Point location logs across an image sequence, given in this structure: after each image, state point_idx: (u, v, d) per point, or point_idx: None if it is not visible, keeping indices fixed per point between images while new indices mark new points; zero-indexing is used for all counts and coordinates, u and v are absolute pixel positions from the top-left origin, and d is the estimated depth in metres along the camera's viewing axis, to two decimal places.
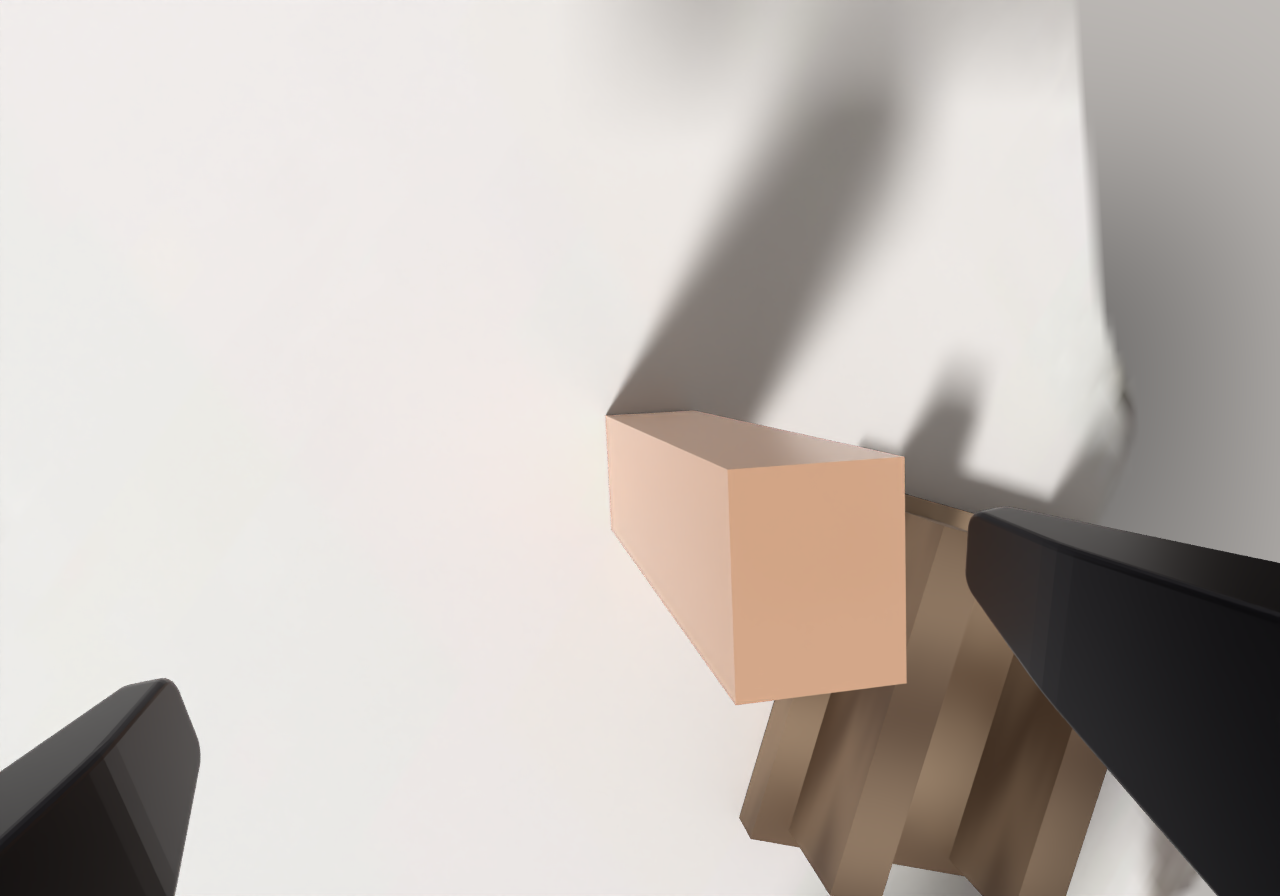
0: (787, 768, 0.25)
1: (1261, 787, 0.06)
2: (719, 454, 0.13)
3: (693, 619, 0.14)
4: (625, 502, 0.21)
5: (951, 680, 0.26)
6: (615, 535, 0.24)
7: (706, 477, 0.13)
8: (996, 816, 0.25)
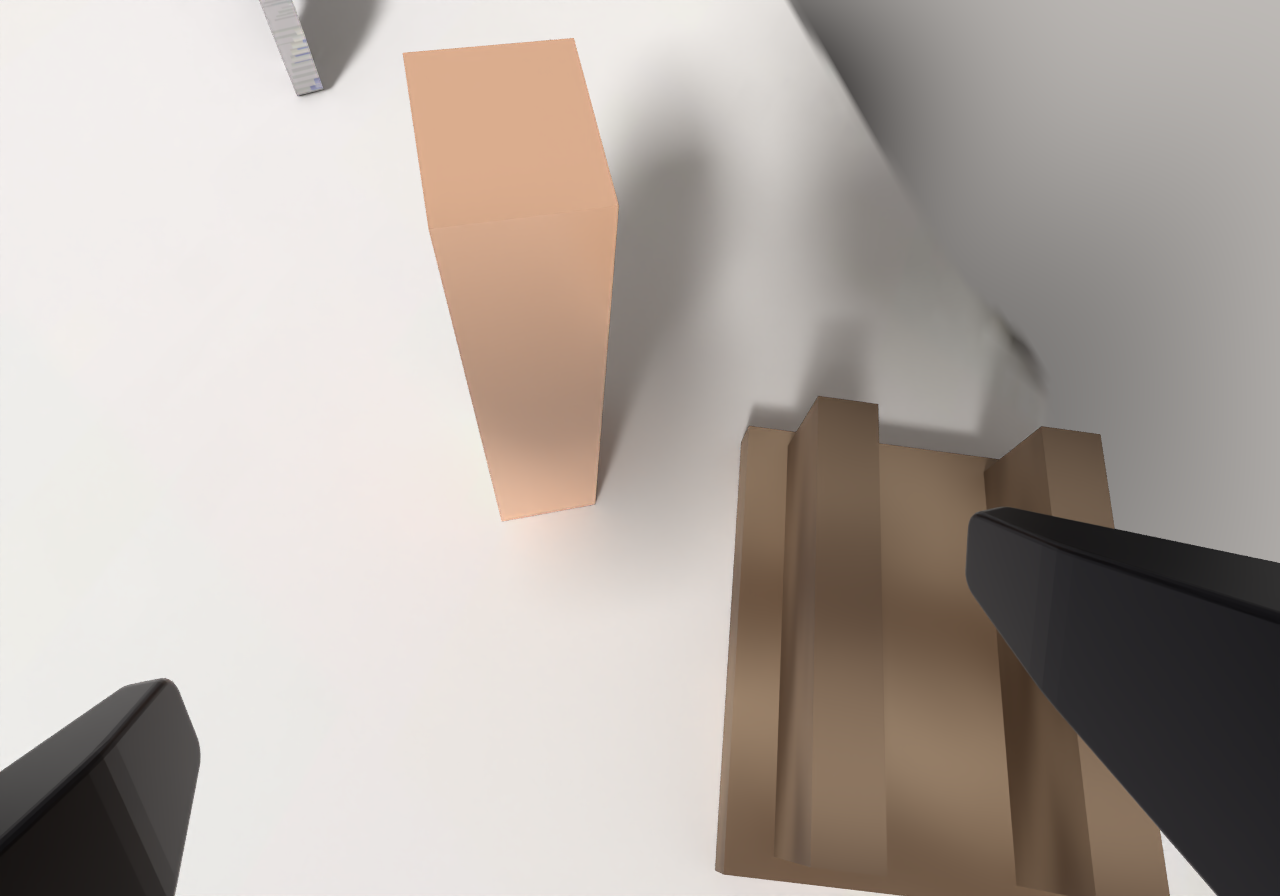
0: (750, 764, 0.20)
1: (1261, 787, 0.06)
2: None
3: None
4: None
5: (927, 629, 0.22)
6: (499, 511, 0.22)
7: None
8: (1038, 777, 0.19)
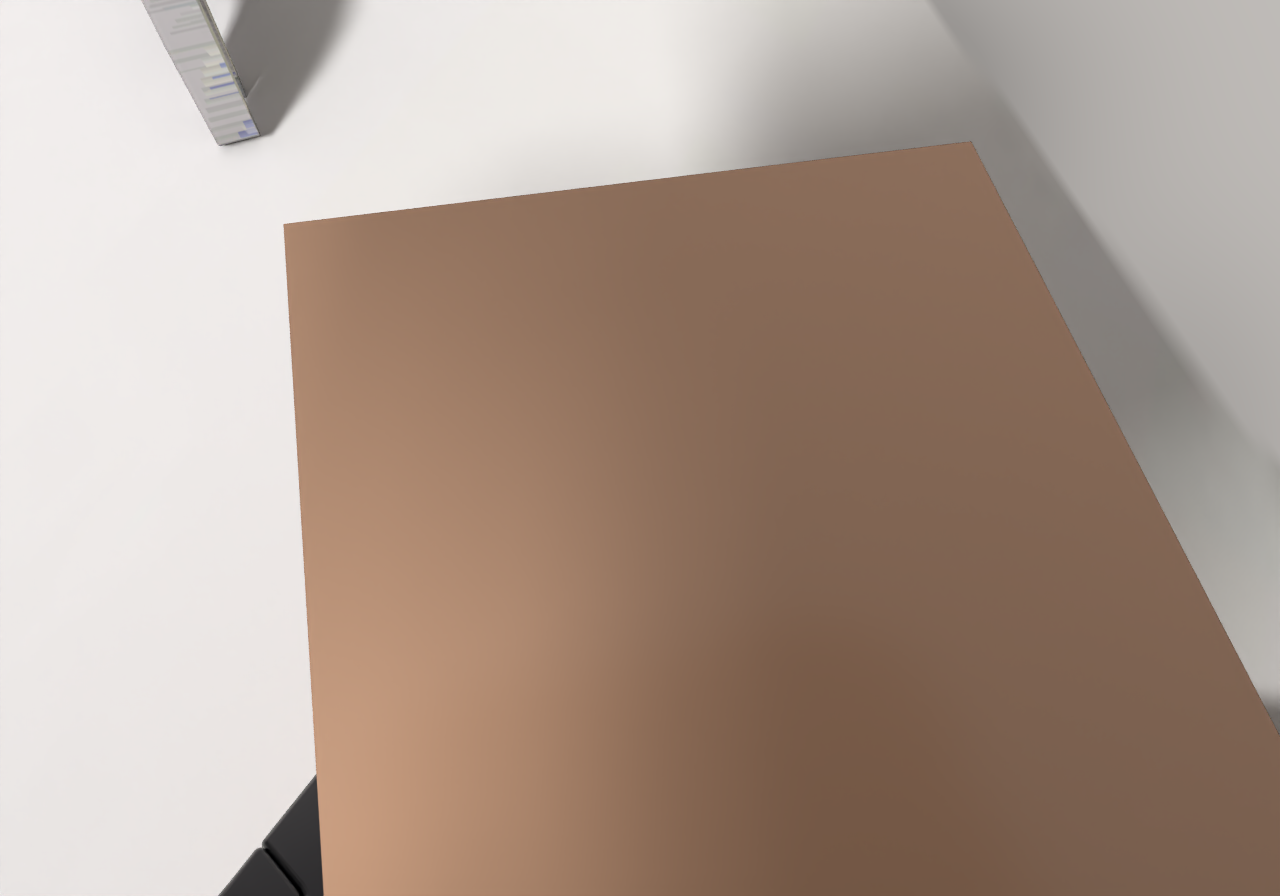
0: None
1: None
2: None
3: None
4: None
5: None
6: None
7: None
8: None
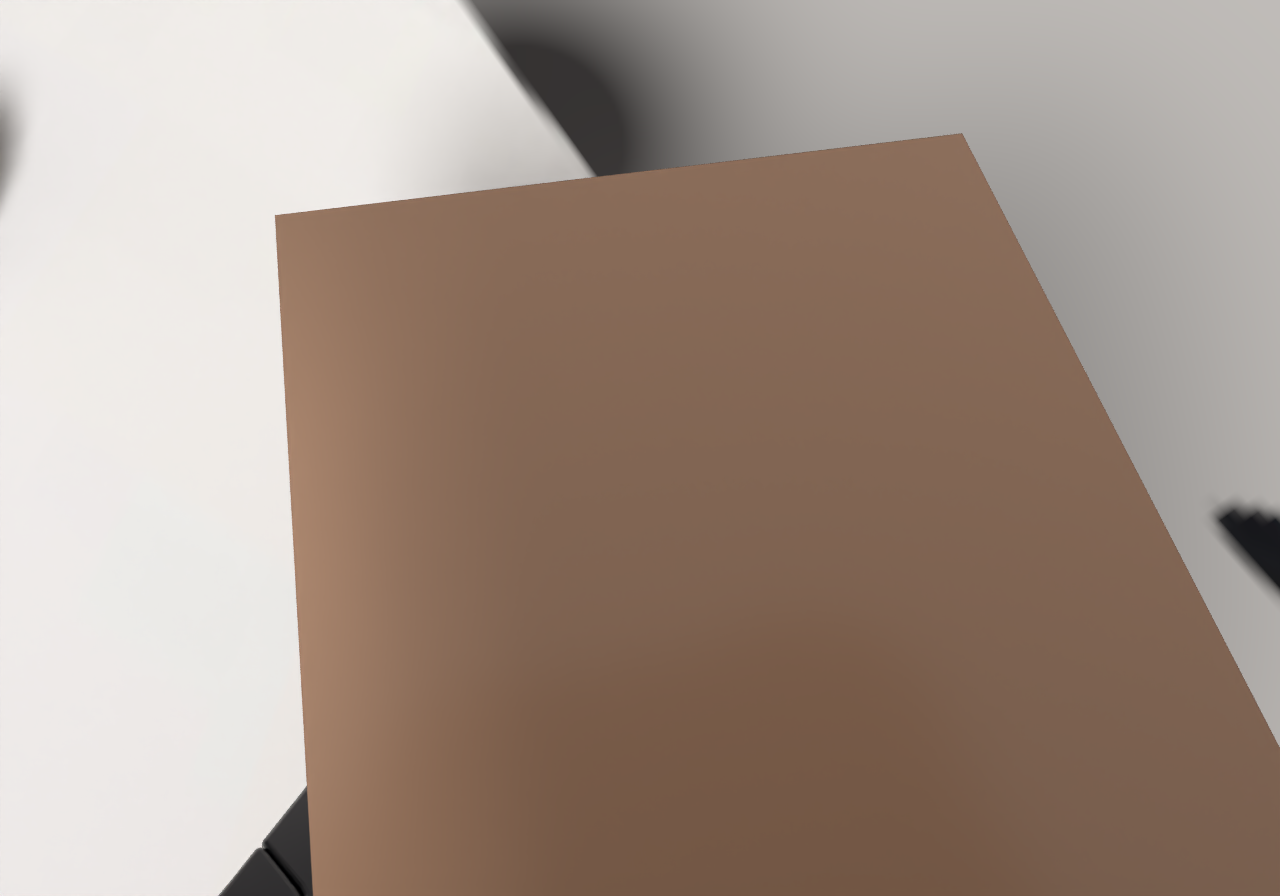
0: None
1: None
2: None
3: None
4: None
5: None
6: None
7: None
8: None
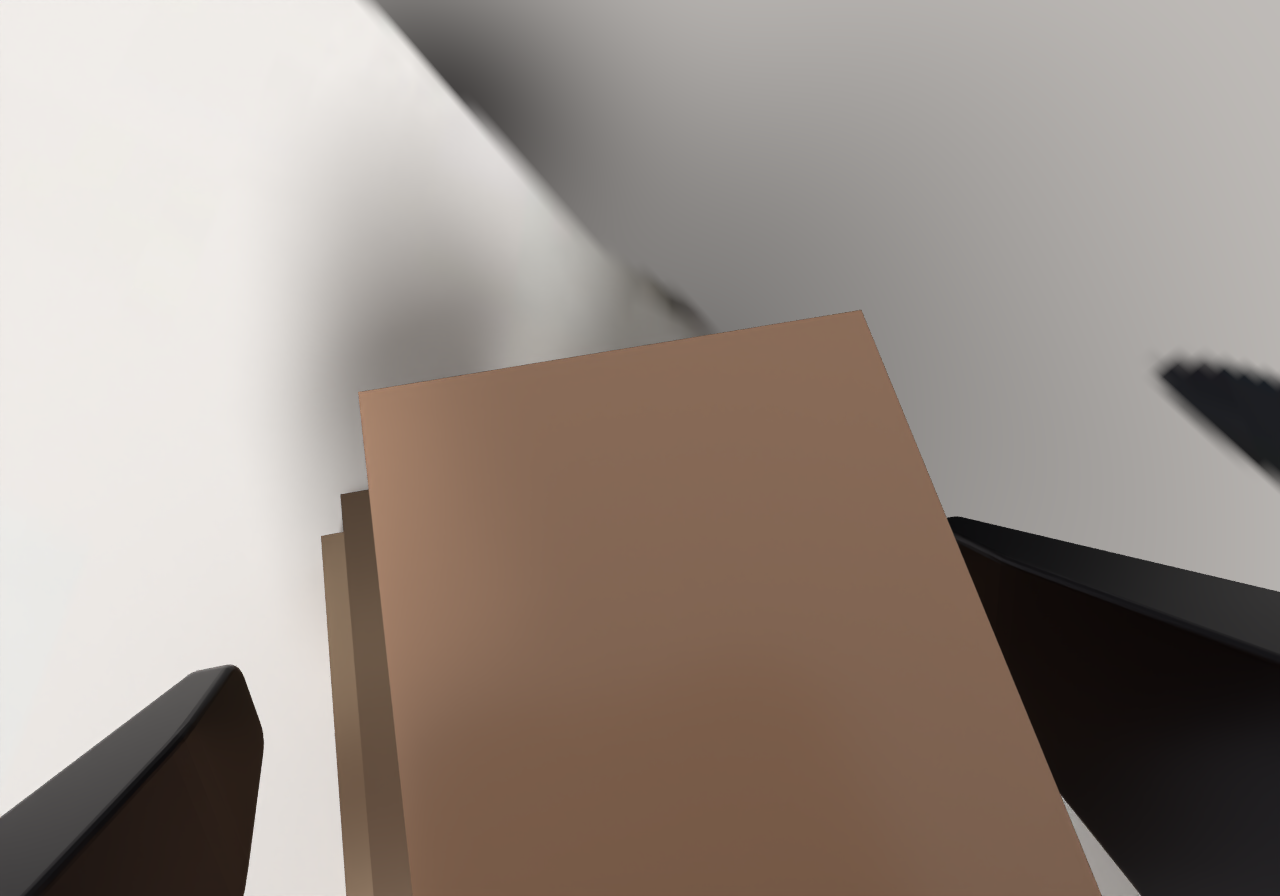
0: None
1: (1195, 806, 0.06)
2: None
3: None
4: None
5: None
6: None
7: None
8: None
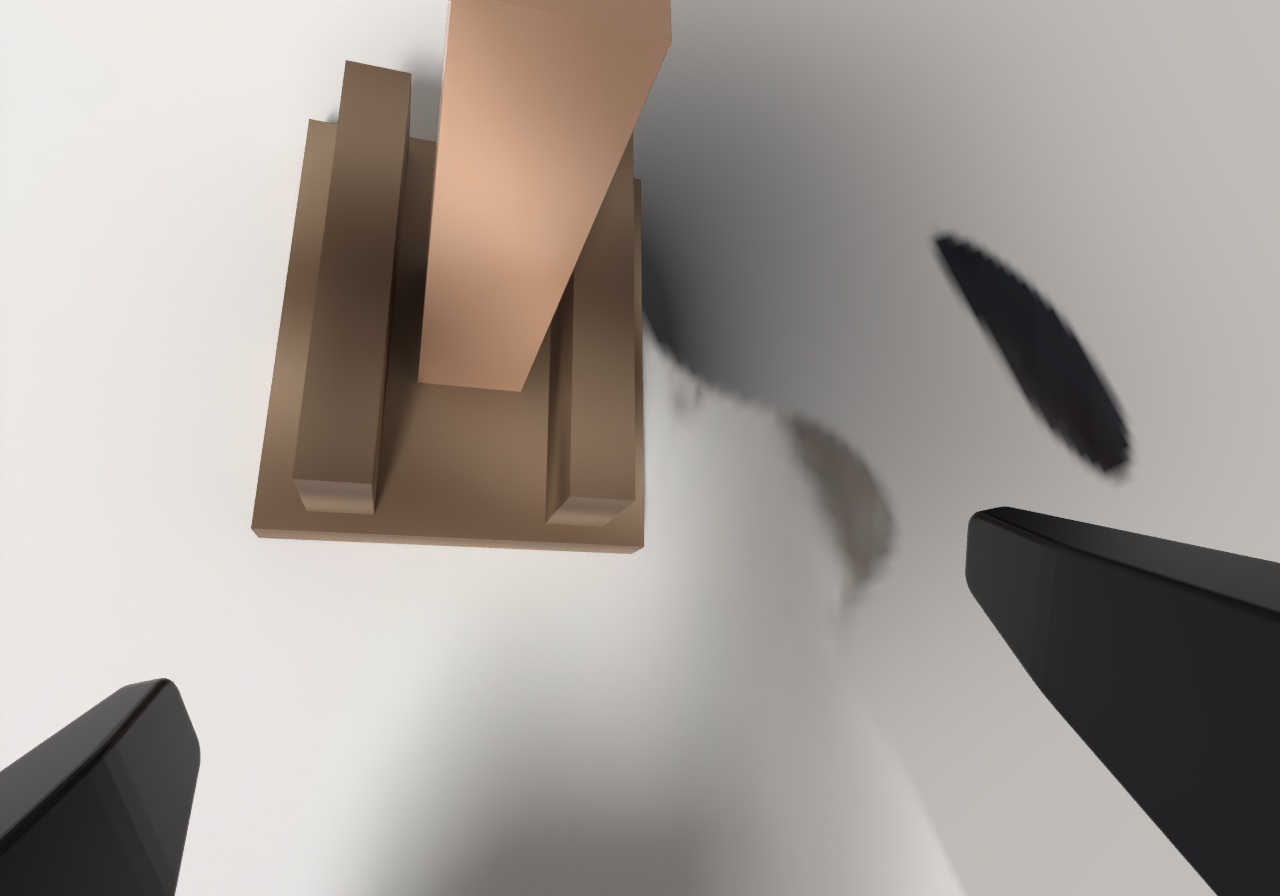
0: (287, 432, 0.20)
1: (1261, 787, 0.06)
2: None
3: None
4: None
5: None
6: None
7: None
8: (557, 422, 0.21)
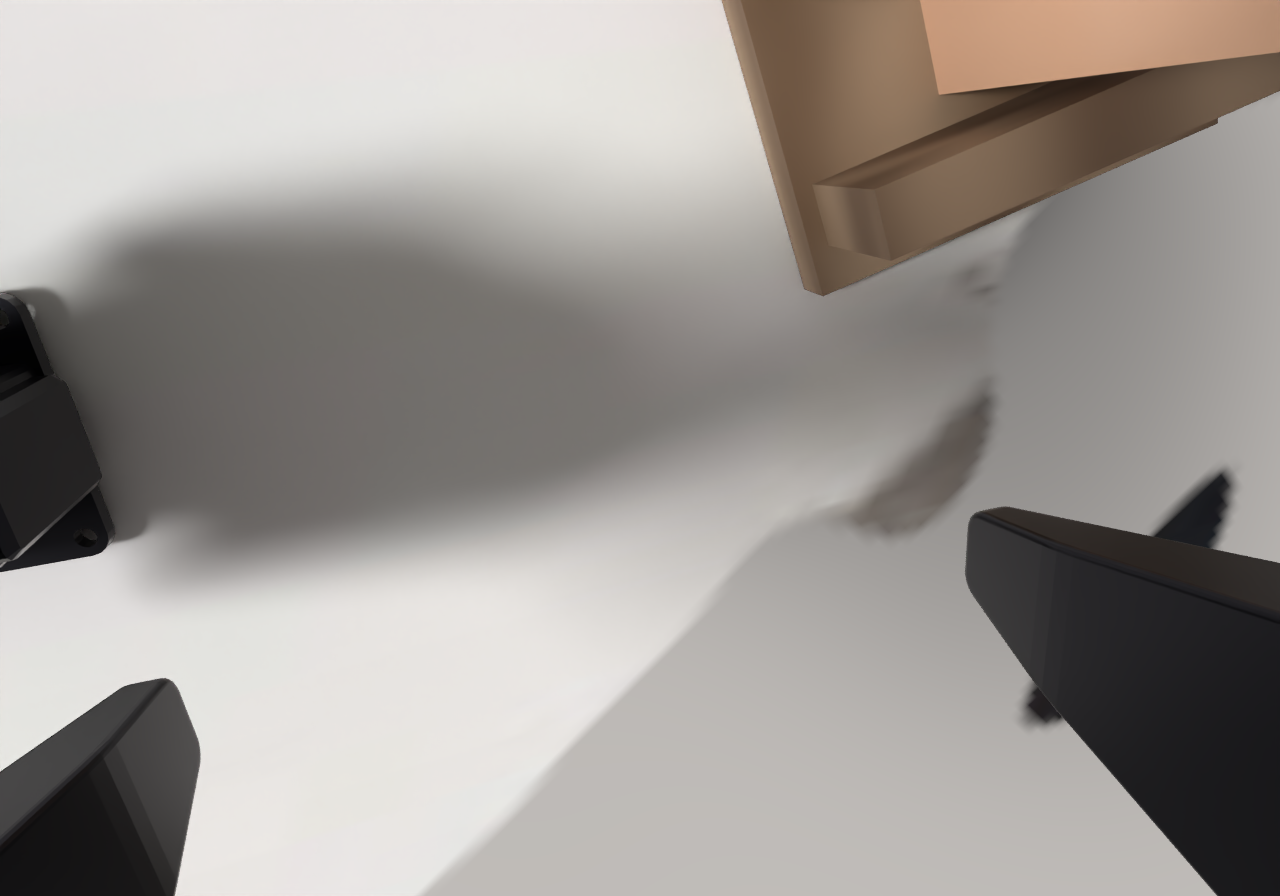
0: None
1: (1261, 787, 0.06)
2: None
3: None
4: None
5: None
6: None
7: None
8: (929, 146, 0.18)
